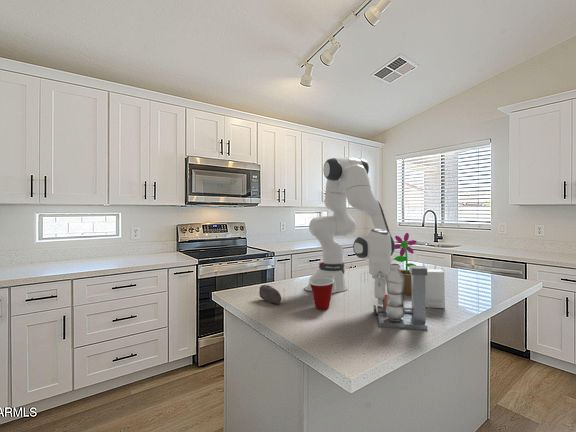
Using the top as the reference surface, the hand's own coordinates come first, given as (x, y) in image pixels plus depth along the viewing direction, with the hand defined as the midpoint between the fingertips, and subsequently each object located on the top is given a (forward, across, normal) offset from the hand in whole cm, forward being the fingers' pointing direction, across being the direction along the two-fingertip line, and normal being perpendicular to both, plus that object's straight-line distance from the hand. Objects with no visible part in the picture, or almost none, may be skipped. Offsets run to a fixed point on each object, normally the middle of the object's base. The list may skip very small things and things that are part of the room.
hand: (380, 303), depth 122 cm
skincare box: (+4, +17, -22) cm, 28 cm away
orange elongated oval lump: (+3, 0, -2) cm, 4 cm away
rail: (+4, +1, -7) cm, 8 cm away
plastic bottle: (+3, -9, -6) cm, 11 cm away
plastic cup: (+4, +1, +24) cm, 25 cm away
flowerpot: (+4, +37, -12) cm, 39 cm away
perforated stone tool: (+4, +3, +49) cm, 49 cm away
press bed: (+4, -8, -8) cm, 12 cm away
